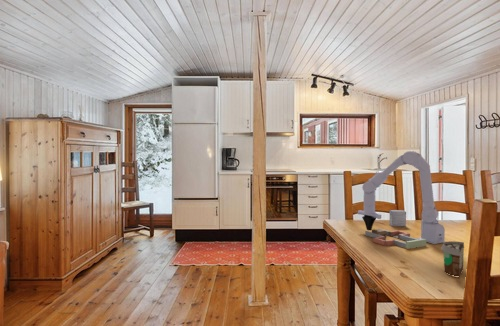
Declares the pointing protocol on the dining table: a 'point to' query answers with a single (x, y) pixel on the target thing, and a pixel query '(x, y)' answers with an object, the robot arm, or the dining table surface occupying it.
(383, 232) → the walnut block
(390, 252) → the dining table surface
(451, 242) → the food container
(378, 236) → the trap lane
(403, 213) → the medicine box
